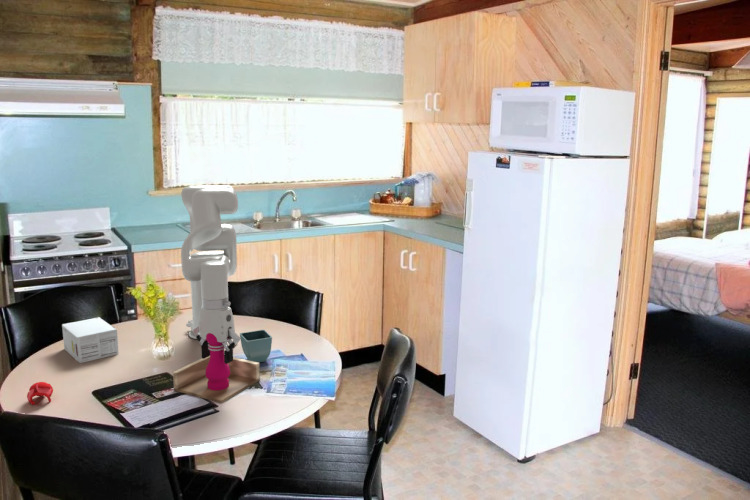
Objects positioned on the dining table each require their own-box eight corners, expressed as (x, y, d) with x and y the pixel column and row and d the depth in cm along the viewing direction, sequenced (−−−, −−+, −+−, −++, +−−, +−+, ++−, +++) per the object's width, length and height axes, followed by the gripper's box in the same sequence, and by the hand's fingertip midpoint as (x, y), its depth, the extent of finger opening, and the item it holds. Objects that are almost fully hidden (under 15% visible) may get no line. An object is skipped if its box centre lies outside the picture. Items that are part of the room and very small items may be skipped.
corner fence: (173, 387, 187) (172, 372, 186) (214, 367, 203) (213, 352, 202) (221, 400, 179) (220, 383, 178) (259, 377, 195) (259, 362, 194)
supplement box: (63, 349, 219) (60, 324, 217) (102, 341, 228) (100, 316, 226) (79, 363, 207) (76, 336, 205) (119, 354, 215) (117, 328, 213)
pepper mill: (232, 381, 192) (230, 318, 188) (228, 391, 185) (226, 326, 181) (208, 381, 192) (205, 319, 187) (203, 391, 185) (201, 326, 180)
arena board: (173, 390, 187) (173, 387, 187) (214, 369, 203) (214, 367, 203) (221, 402, 179) (221, 400, 179) (259, 380, 195) (259, 377, 195)
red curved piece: (55, 394, 176) (56, 376, 180) (32, 391, 173) (33, 374, 177) (46, 410, 180) (48, 393, 184) (23, 408, 177) (25, 391, 181)
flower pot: (247, 367, 205) (246, 341, 204) (239, 358, 213) (239, 332, 211) (273, 362, 209) (272, 337, 208) (264, 354, 217) (264, 329, 215)
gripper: (247, 303, 182) (248, 360, 186) (200, 295, 190) (203, 350, 194) (230, 310, 176) (232, 369, 179) (183, 302, 183) (186, 358, 187)
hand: (217, 359), depth 186 cm, fingers open, 8 cm apart
